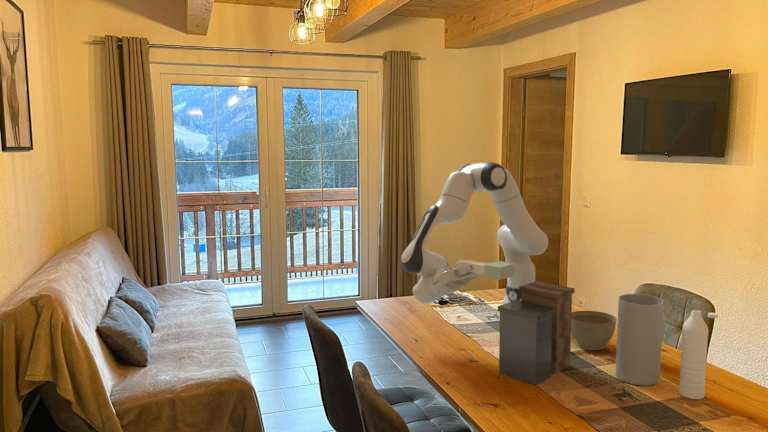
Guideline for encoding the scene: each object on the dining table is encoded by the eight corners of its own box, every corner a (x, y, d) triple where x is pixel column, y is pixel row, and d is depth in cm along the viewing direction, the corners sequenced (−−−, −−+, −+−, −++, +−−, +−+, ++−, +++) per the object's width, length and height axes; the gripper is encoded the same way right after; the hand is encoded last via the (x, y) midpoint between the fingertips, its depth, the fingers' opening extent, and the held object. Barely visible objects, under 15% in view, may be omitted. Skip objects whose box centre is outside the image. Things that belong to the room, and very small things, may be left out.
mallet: (467, 266, 199) (467, 255, 198) (514, 275, 185) (514, 263, 185) (452, 270, 193) (452, 258, 193) (499, 280, 180) (500, 267, 179)
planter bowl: (622, 345, 205) (623, 315, 204) (604, 358, 194) (605, 327, 192) (579, 335, 216) (580, 307, 215) (559, 347, 205) (560, 317, 203)
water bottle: (675, 394, 166) (679, 310, 162) (683, 387, 170) (688, 305, 167) (708, 404, 159) (713, 317, 156) (716, 397, 164) (721, 312, 161)
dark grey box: (514, 364, 190) (515, 299, 187) (553, 376, 180) (554, 308, 177) (496, 373, 183) (497, 306, 180) (535, 386, 173) (537, 315, 170)
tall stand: (534, 354, 198) (535, 281, 194) (572, 365, 188) (574, 288, 184) (518, 362, 191) (519, 286, 188) (556, 374, 181) (558, 294, 178)
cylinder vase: (656, 390, 169) (660, 307, 166) (611, 381, 176) (614, 301, 172) (662, 374, 180) (666, 297, 176) (619, 367, 186) (622, 291, 183)
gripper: (424, 276, 194) (452, 262, 185) (462, 267, 208) (490, 252, 199) (431, 294, 193) (460, 280, 183) (469, 283, 207) (497, 269, 197)
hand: (476, 265), depth 191 cm, fingers closed on mallet, 4 cm apart
